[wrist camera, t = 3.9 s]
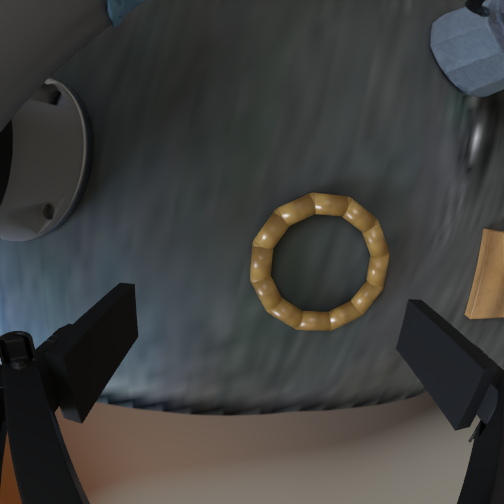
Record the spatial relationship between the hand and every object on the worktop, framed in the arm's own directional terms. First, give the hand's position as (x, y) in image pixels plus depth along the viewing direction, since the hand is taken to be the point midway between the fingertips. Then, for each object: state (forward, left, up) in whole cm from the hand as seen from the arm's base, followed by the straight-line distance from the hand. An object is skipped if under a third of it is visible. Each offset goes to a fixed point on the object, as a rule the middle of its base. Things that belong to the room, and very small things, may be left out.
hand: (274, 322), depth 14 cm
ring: (+4, 0, -11) cm, 12 cm away
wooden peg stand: (+25, 0, -12) cm, 28 cm away
